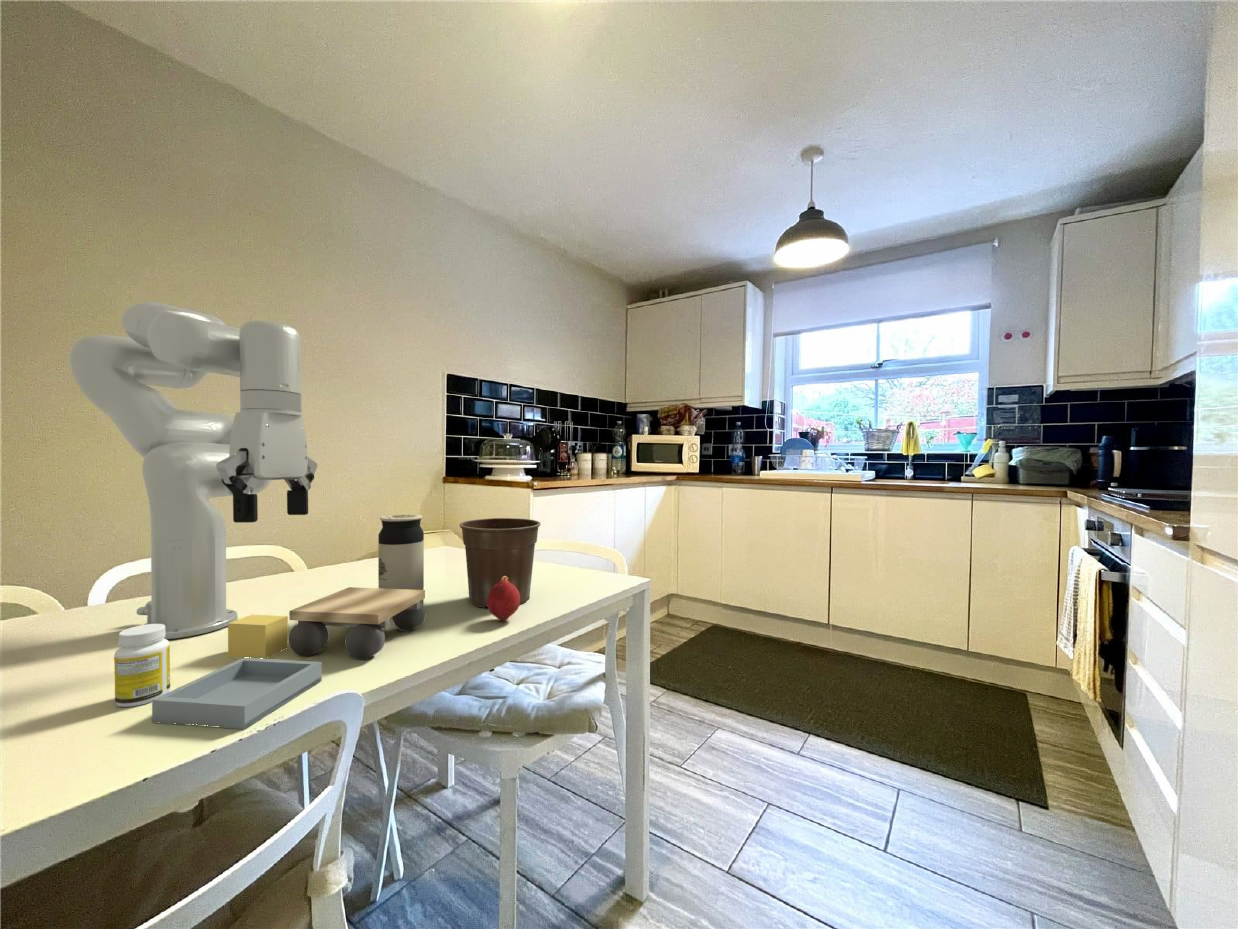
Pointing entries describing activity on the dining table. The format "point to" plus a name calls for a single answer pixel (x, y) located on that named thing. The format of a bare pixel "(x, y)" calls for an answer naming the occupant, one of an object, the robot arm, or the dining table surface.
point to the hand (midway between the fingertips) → (273, 518)
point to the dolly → (355, 619)
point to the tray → (237, 693)
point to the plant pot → (499, 555)
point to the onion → (503, 599)
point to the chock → (257, 636)
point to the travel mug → (401, 553)
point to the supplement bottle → (141, 665)
